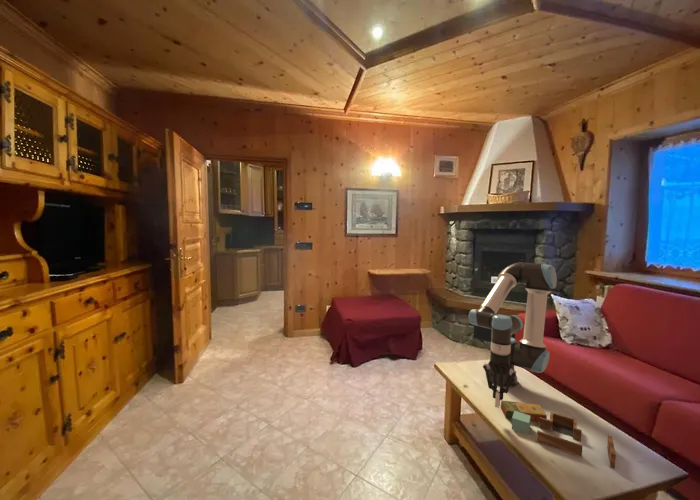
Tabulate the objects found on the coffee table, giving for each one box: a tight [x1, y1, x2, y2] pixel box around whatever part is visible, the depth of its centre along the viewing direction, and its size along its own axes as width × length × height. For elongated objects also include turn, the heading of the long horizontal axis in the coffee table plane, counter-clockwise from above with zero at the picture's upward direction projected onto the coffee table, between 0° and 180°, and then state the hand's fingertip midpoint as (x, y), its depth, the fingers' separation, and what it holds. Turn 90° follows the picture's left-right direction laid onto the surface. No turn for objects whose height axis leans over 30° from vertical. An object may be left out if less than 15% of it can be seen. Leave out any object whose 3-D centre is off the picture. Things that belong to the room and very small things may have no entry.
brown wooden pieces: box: [536, 411, 617, 470], centre depth 120 cm, size 19×23×5 cm
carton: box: [500, 400, 548, 423], centre depth 136 cm, size 8×16×4 cm, turn 79°
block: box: [511, 411, 531, 435], centre depth 128 cm, size 6×6×5 cm
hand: (497, 406), depth 132 cm, fingers closed
